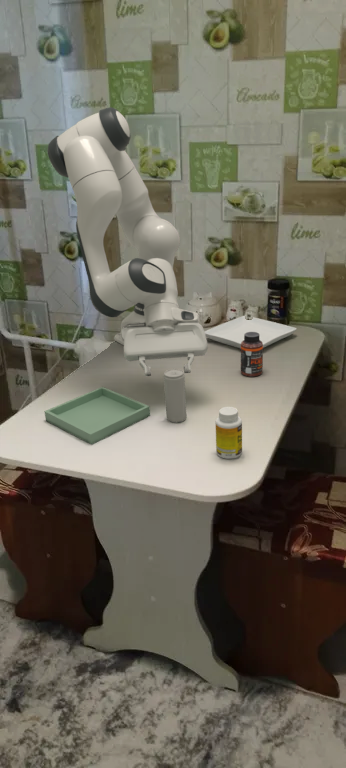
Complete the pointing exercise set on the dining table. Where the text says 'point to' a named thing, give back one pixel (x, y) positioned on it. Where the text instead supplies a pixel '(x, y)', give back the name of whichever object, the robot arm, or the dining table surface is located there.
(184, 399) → the beverage can
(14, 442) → the dining table surface
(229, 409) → the supplement bottle
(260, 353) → the supplement bottle
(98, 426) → the green tray
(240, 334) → the salad plate
